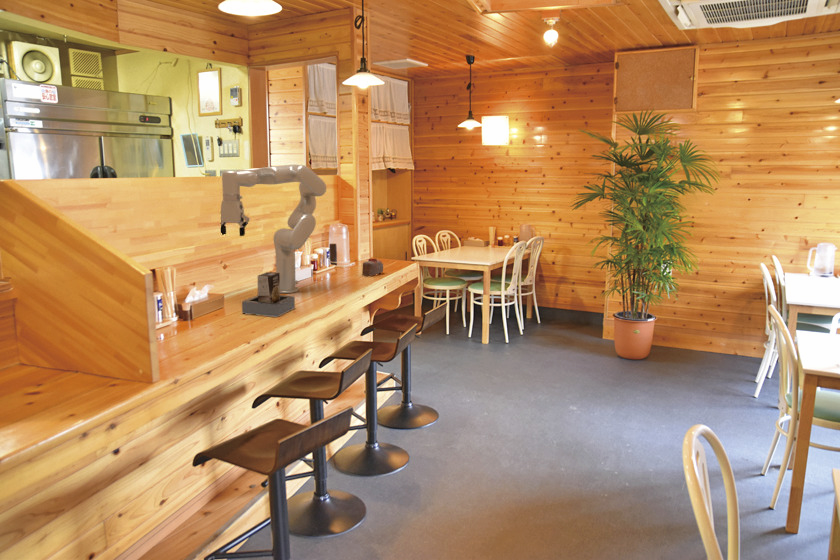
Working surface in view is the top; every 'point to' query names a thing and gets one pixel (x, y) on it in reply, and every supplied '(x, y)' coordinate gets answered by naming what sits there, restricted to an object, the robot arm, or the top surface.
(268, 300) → the coffee box
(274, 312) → the socket
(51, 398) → the top surface
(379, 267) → the food item
